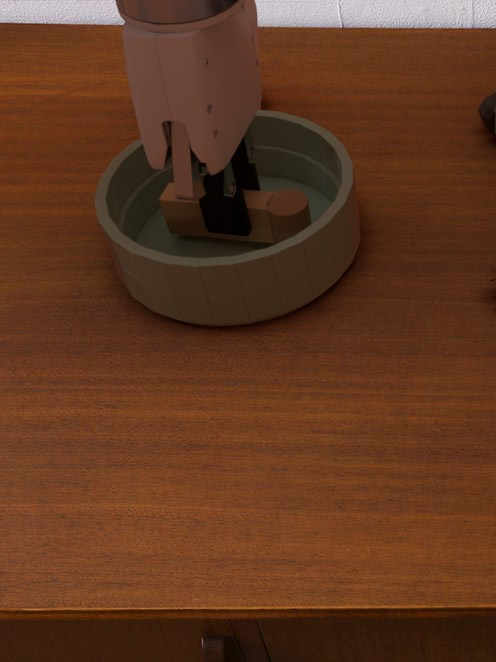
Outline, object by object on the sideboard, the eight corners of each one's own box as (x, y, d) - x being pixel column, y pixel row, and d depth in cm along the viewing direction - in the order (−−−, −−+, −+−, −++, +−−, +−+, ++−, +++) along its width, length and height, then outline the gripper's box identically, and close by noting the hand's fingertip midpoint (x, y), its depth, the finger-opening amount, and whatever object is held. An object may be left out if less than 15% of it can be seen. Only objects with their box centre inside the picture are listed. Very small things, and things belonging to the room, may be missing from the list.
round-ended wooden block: (166, 238, 73) (155, 203, 70) (181, 212, 75) (171, 177, 72) (307, 252, 72) (300, 217, 69) (318, 225, 74) (312, 190, 72)
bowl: (77, 316, 69) (49, 250, 65) (171, 163, 81) (153, 99, 77) (326, 343, 68) (314, 278, 63) (384, 184, 80) (378, 120, 75)
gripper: (166, -84, 65) (222, 150, 78) (56, 42, 54) (144, 289, 67) (278, -76, 64) (316, 159, 78) (190, 54, 53) (251, 301, 67)
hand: (235, 218), depth 72 cm, fingers closed on round-ended wooden block, 2 cm apart
